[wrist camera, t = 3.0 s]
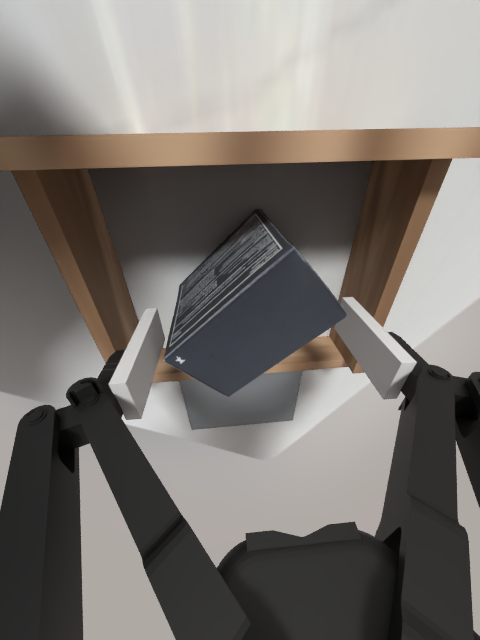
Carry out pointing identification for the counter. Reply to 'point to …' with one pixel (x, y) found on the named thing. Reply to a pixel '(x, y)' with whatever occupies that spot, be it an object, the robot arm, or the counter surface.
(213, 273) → the small box
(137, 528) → the robot arm
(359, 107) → the counter surface
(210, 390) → the mat
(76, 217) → the open wooden tray
